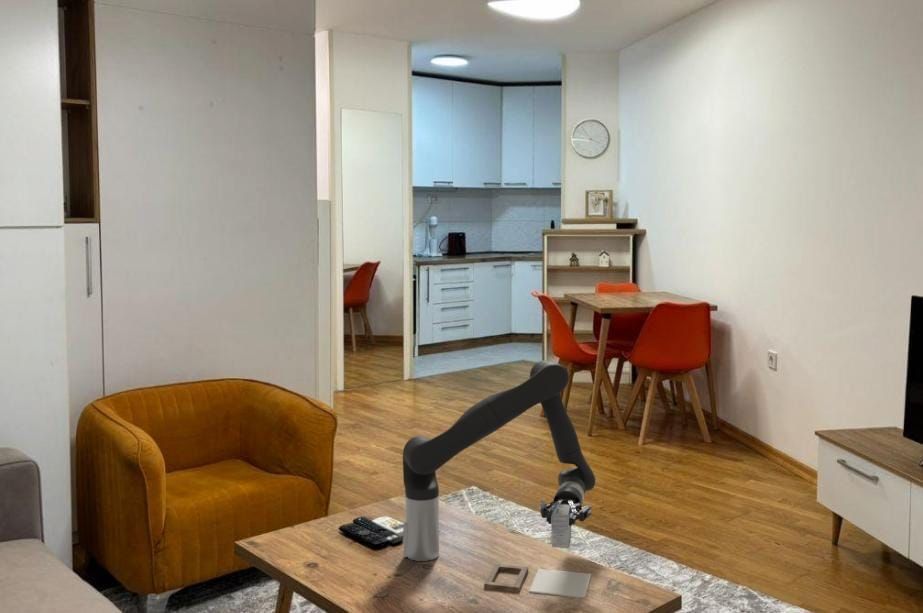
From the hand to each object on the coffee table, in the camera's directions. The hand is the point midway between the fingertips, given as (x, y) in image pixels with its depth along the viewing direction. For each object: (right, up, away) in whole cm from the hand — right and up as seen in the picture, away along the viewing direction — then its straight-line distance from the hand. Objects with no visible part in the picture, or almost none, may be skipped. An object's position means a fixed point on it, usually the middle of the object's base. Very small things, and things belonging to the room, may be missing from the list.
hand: (560, 521), depth 219 cm
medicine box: (+1, -6, +3) cm, 7 cm away
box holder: (-13, -17, +7) cm, 23 cm away
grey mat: (+1, -17, +4) cm, 18 cm away
